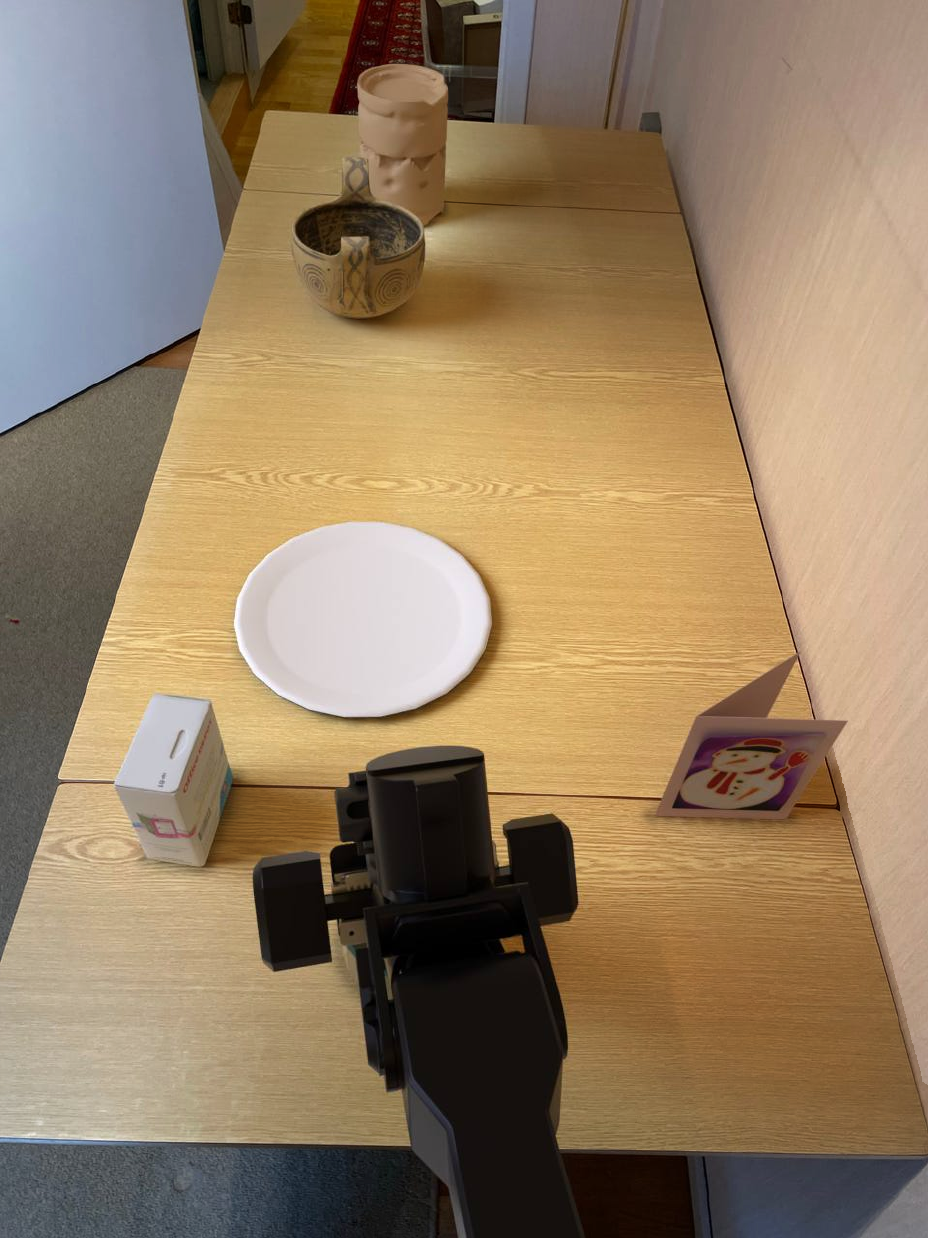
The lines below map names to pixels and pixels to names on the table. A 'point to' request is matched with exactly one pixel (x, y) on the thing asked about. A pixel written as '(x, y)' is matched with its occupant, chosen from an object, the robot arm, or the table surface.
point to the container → (405, 136)
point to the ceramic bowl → (358, 249)
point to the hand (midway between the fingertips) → (402, 847)
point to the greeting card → (748, 756)
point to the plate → (363, 619)
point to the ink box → (176, 779)
